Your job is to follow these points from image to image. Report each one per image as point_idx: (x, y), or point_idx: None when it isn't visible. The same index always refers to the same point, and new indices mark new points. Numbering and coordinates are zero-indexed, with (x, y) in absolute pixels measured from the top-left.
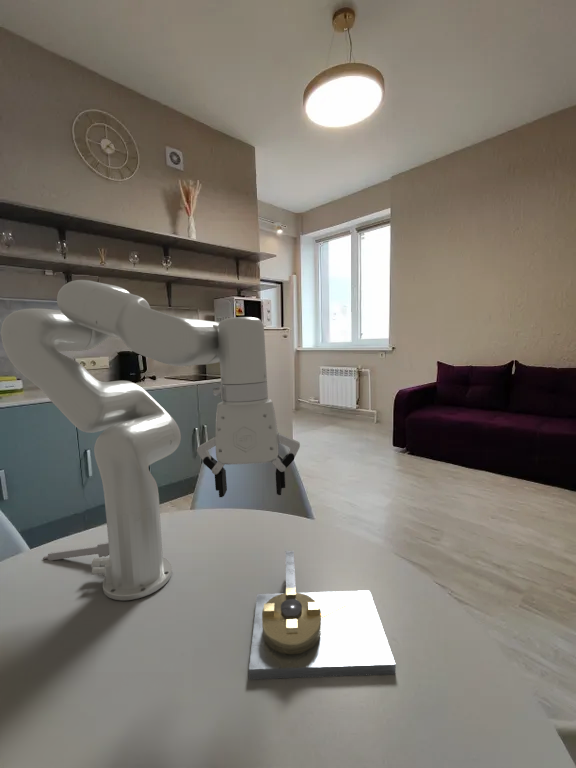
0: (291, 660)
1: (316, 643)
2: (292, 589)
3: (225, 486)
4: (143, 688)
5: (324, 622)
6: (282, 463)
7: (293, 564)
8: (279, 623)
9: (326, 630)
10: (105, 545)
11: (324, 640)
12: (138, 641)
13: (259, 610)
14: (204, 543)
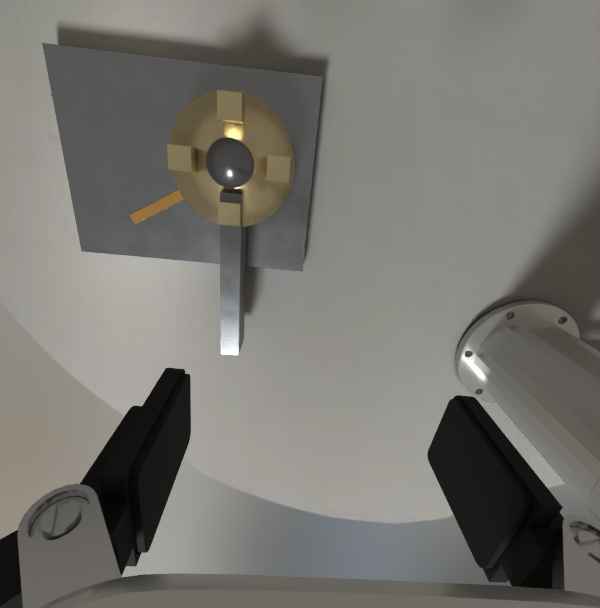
0: (243, 85)
1: None
2: (225, 219)
3: (446, 461)
4: (499, 92)
5: None
6: (20, 563)
7: (222, 310)
8: (258, 133)
9: None
10: None
11: None
12: (509, 201)
13: (299, 227)
14: (395, 430)
